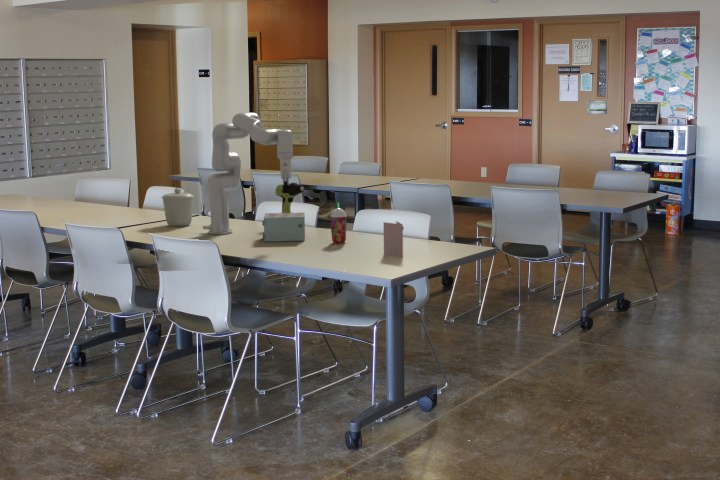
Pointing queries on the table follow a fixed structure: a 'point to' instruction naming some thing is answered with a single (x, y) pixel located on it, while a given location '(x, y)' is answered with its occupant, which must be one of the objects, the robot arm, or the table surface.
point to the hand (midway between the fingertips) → (286, 193)
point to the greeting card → (393, 239)
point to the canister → (178, 208)
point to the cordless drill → (288, 195)
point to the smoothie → (338, 225)
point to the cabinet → (286, 216)
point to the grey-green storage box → (283, 229)
